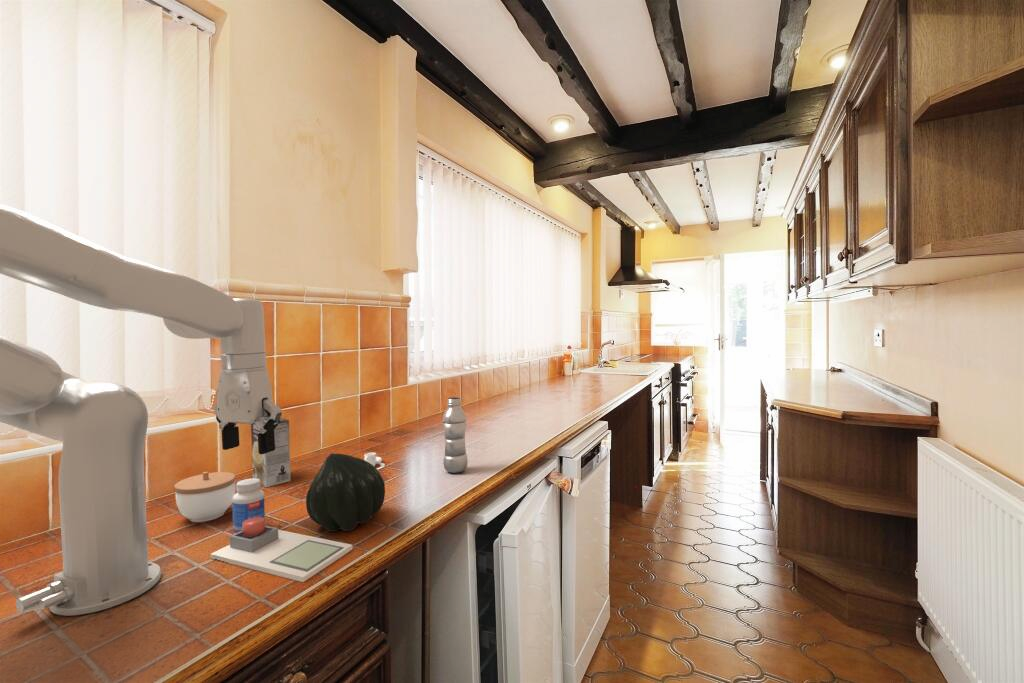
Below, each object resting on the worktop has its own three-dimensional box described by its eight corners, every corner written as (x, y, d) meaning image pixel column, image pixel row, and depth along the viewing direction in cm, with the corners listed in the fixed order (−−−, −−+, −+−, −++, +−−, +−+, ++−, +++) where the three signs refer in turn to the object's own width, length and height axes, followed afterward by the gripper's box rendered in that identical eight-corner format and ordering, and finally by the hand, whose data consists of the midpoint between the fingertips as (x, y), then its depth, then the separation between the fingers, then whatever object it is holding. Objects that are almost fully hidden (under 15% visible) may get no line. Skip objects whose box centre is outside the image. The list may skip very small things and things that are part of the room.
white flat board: (303, 582, 70) (302, 564, 70) (210, 558, 78) (209, 542, 78) (352, 549, 80) (352, 533, 80) (266, 531, 88) (265, 517, 88)
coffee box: (251, 480, 118) (249, 419, 117) (277, 474, 123) (275, 415, 122) (266, 488, 112) (263, 423, 111) (292, 481, 117) (290, 419, 116)
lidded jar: (182, 532, 88) (180, 485, 88) (170, 517, 95) (168, 473, 95) (244, 515, 96) (242, 471, 96) (228, 502, 103) (226, 461, 103)
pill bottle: (250, 538, 85) (248, 487, 85) (226, 536, 86) (224, 485, 86) (271, 525, 91) (270, 477, 90) (248, 523, 92) (246, 476, 91)
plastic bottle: (472, 470, 124) (471, 397, 123) (457, 477, 118) (455, 400, 117) (454, 466, 127) (453, 395, 126) (438, 473, 121) (436, 399, 121)
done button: (252, 538, 79) (252, 526, 79) (237, 534, 81) (237, 523, 80) (270, 529, 83) (269, 518, 82) (255, 526, 84) (255, 515, 84)
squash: (408, 494, 92) (373, 433, 97) (344, 524, 80) (308, 453, 84) (376, 526, 98) (345, 468, 103) (313, 559, 86) (281, 491, 91)
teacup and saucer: (375, 461, 134) (375, 448, 134) (393, 466, 130) (392, 452, 129) (349, 469, 127) (349, 455, 127) (367, 474, 123) (366, 459, 122)
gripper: (194, 364, 87) (199, 451, 88) (259, 365, 81) (264, 460, 82) (231, 360, 94) (235, 441, 95) (293, 361, 88) (297, 448, 89)
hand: (248, 450), depth 88 cm, fingers open, 9 cm apart
